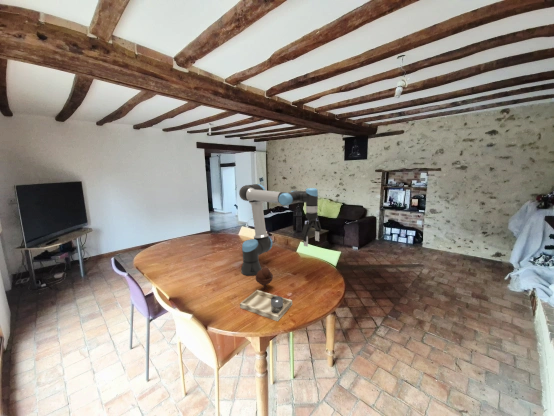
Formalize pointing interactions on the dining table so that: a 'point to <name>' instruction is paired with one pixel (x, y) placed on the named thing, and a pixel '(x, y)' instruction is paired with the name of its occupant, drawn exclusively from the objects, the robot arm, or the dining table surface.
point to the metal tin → (276, 304)
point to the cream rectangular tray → (264, 305)
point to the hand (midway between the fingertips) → (311, 243)
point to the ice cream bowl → (264, 277)
